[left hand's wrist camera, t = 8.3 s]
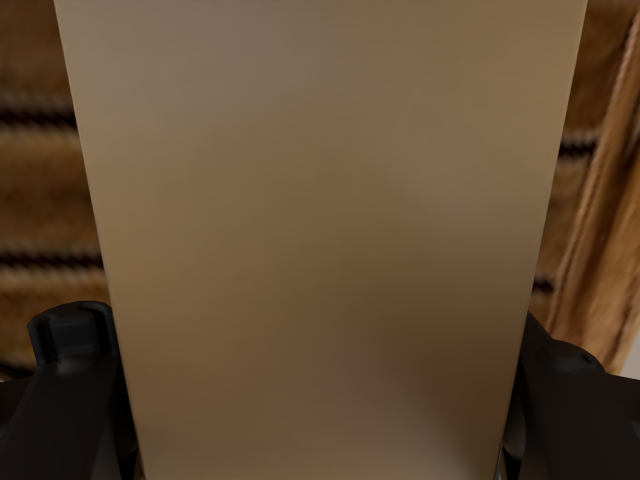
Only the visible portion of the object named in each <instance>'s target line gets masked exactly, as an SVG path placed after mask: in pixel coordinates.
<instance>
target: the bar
mask: <svg viewBox="0 0 640 480" xmlns="http://www.w3.org/2000/svg"><path fill="white" fill-rule="evenodd" d="M587 2H588V0H54V5H55V10H56V15H57V21H58V26H59V31H60V36H61V42H62V47H63V52H64V58H65V63H66V68H67V73H68V79H69V84H70V89H71V94H72V100H73V105H74V110H75V116H76V121H77V126H78V131H79V137H80V142H81V147H82V153H83V158H84V163H85V168H86V174H87V179H88V184H89V190H90V195H91V200H92V205H93V211H94V216H95V221H96V227H97V232H98V237H99V242H100V248H101V253H102V258H103V264H104V269H105V274H106V279H107V285H108V290H109V295H110V301H111V306H112V311H113V316H114V322H115V327H116V332H117V338H118V343H119V348H120V353H121V359H122V364H123V369H124V375H125V380H126V385H127V390H128V396H129V401H130V406H131V412H132V417H133V422H134V427H135V433H136V438H137V443H138V449H139V454H140V459H141V464H142V470H143V475H144V480H495V476H496V471H497V466H498V461H499V455H500V450H501V445H502V440H503V435H504V430H505V425H506V419H507V414H508V409H509V404H510V399H511V394H512V388H513V383H514V378H515V373H516V368H517V363H518V358H519V352H520V347H521V342H522V337H523V332H524V327H525V321H526V316H527V311H528V306H529V301H530V296H531V291H532V285H533V280H534V275H535V270H536V265H537V260H538V254H539V249H540V244H541V239H542V234H543V229H544V224H545V218H546V213H547V208H548V203H549V198H550V193H551V187H552V182H553V177H554V172H555V167H556V162H557V157H558V151H559V146H560V141H561V136H562V131H563V126H564V120H565V115H566V110H567V105H568V100H569V95H570V90H571V84H572V79H573V74H574V69H575V64H576V59H577V53H578V48H579V43H580V38H581V33H582V28H583V23H584V17H585V12H586V7H587Z"/></svg>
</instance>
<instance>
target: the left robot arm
mask: <svg viewBox="0 0 640 480" xmlns="http://www.w3.org/2000/svg"><path fill="white" fill-rule="evenodd" d="M27 328H28V332H29V335H30V339H31V343H32V346H33V350H34V353H35V357H36V361H37V364H38V367H37V369H36V371H35V373H34V375H32V376H28V377H24V376H22V375H20V374H19V373H16V372H14V371H12V370H9V369H7V368H4V367H1V366H0V480H139V477H140V469H141V460H140V454H139V449H138V443H137V438H136V433H135V427H134V422H133V417H132V412H131V406H130V401H129V396H128V390H127V385H126V380H125V375H124V369H123V364H122V359H121V353H120V348H119V343H118V338H117V332H116V327H115V322H114V316H113V311H112V308H111V307H110V306H108V305H107V304H106V303H103V302H98V301H77V302H72V303H67V304H62V305H59V306H57V307H54V308H51V309H48V310H46V311H44V312H43V313H41V314H39V315H37V316H35V317H34V318H33V319H32V320H31V321H30V322H29V323H28V324H27ZM502 443H503V444H502V449H501V454H500V459H499V464H498V470H497V475H496V480H640V380H637V379H631V378H626V377H621V376H616V375H612V374H608V373H606V372H605V370H604V368H603V366H602V365H601V364H600V362H599V361H598V360H597V359H596V358H595V356H593V355H592V354H590V353H589V352H587V351H586V350H584V349H582V348H580V347H578V346H575V345H573V344H570V343H568V342H564V341H559V340H555V339H553V338H552V337H551V336H550V335H549V334H548V333H547V331H546V330H545V329H544V328H543V327H542V325H541V324H540V323H539V322H538V321H537V320H536V318H535V317H534V316H533V315H532V314H531V313H529V310H528V311H527V316H526V321H525V327H524V332H523V337H522V342H521V347H520V352H519V358H518V363H517V368H516V373H515V378H514V383H513V388H512V394H511V399H510V404H509V409H508V414H507V419H506V425H505V430H504V435H503V440H502Z"/></svg>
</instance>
